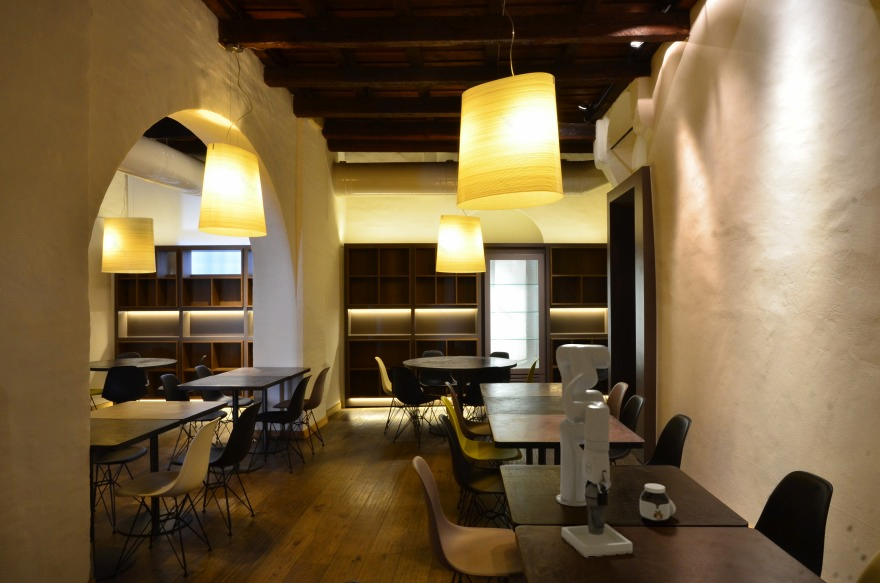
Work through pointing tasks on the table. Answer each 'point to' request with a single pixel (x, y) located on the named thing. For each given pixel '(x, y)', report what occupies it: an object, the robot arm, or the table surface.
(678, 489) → the table surface
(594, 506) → the beverage cup
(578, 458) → the robot arm
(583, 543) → the walled tray
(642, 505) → the spread jar
